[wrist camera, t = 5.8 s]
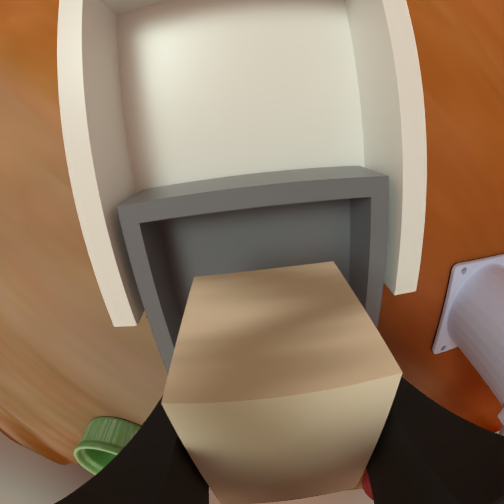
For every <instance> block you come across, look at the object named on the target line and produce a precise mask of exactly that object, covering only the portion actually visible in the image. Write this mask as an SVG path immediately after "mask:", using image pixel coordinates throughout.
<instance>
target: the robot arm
mask: <svg viewBox="0 0 504 504" xmlns="http://www.w3.org/2000/svg"><path fill="white" fill-rule="evenodd" d="M462 269H463V270H462ZM456 347H458V348H459V349H460V350H461V351H462V353H463V354H464V355H465V356H466V358H467V359H468V360H469V361H470V363H471V364H472V365H473V367H474V368H475V369H476V371H477V372H478V373H479V375H480V376H481V377H482V379H483V380H484V381H485V383H486V384H487V385H488V387H489V388H490V389H491V391H492V392H493V394H494V395H495V396H496V398H497V399H498V401H499V402H500V404H501V405H502V406H503V409H502V411H501V412H500V413H499V414H498V418H499V420H500V421H501V423H502V424H503V425H502V427H501V429H500V432H499V434H497V433H494V432H491V431H489V430H486V429H484V428H481V427H479V426H477V425H475V424H473V423H471V422H469V421H467V420H465V419H463V418H461V417H459V416H457V415H455V414H453V413H452V412H450V411H448V410H447V409H445V408H444V407H442V406H440V405H439V404H437V403H436V402H434V401H433V400H431V399H430V398H428V397H427V396H426V395H424V394H423V393H422V392H420V391H419V390H418V389H416V388H415V387H414V386H413V385H411V384H410V383H409V382H408V381H407V380H405V379H404V378H403V377H402V376H401V379H400V382H399V385H398V388H397V391H396V394H395V397H394V400H393V403H392V406H391V408H390V411H389V414H388V416H387V419H386V422H385V424H384V427H383V429H382V432H381V434H380V437H379V439H378V441H377V444H376V446H375V448H374V451H373V453H372V455H371V457H370V459H369V462H368V464H367V466H366V469H367V472H368V476H369V481H370V485H371V490H372V494H373V499H374V504H504V254H501V255H496V256H491V257H487V258H482V259H477V260H472V261H467V262H462V263H457V264H455V265H454V266H453V268H452V270H451V275H450V281H449V285H448V290H447V295H446V299H445V303H444V308H443V312H442V316H441V319H440V323H439V327H438V330H437V334H436V337H435V341H434V344H433V347H432V351H433V353H434V354H438V353H441V352H444V351H447V350H450V349H453V348H456ZM162 398H163V396H162ZM162 398H161V399H160V401H159V402H158V404H157V405H156V407H155V408H154V410H153V411H152V413H151V414H150V415H149V417H148V418H147V419H146V421H145V422H144V423H143V425H142V426H141V427H140V429H139V430H138V431H137V433H136V434H135V435H134V436H133V438H132V439H131V440H130V441H129V442H128V443H127V445H126V446H125V447H124V448H123V449H122V450H121V451H120V452H119V453H118V454H117V455H116V456H115V457H114V458H113V459H112V460H111V461H110V462H109V463H108V464H107V465H106V466H105V467H104V468H103V469H102V470H101V471H100V472H98V473H97V474H96V475H95V476H94V477H93V478H91V479H90V480H89V481H87V482H86V483H85V484H83V485H82V486H81V487H79V488H78V489H77V490H75V491H74V492H73V493H71V494H70V495H68V496H67V497H65V498H63V499H62V500H60V501H58V502H57V503H55V504H209V492H208V491H209V485H208V484H207V482H206V481H205V479H204V478H203V476H202V475H201V473H200V471H199V470H198V468H197V467H196V465H195V463H194V462H193V460H192V458H191V457H190V455H189V453H188V452H187V450H186V448H185V447H184V445H183V443H182V441H181V440H180V438H179V436H178V434H177V432H176V431H175V429H174V427H173V425H172V423H171V421H170V419H169V417H168V416H167V414H166V412H165V410H164V408H163V406H162V404H161V403H162Z"/></svg>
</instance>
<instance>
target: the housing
mask: <svg viewBox="0 0 504 504" xmlns="http://www.w3.org/2000/svg"><path fill="white" fill-rule="evenodd" d="M57 67H58V90H59V103H60V114H61V123H62V132H63V139H64V146H65V153H66V159H67V165H68V170H69V176H70V181H71V186H72V191H73V195H74V200H75V204H76V209H77V213H78V217H79V221H80V225H81V229H82V232H83V236H84V240H85V243H86V247H87V250H88V253H89V257H90V260H91V263H92V266H93V270H94V273H95V276H96V279H97V282H98V285H99V288H100V290H101V293H102V296H103V299H104V301H105V304H106V307H107V310H108V312H109V315H110V317H111V320H112V322H113V325H114V327H119V326H137V325H138V323H139V320H140V318H141V316H142V314H143V312H144V310H145V309H144V306H143V303H142V300H141V296H140V293H139V290H138V287H137V283H136V280H135V277H134V273H133V270H132V266H131V263H130V259H129V255H128V251H127V248H126V244H125V240H124V236H123V232H122V228H121V224H120V219H119V215H118V210H117V206H118V205H120V204H121V203H123V202H124V201H126V200H127V199H129V198H130V197H132V196H133V195H135V194H136V193H138V192H139V191H141V190H144V189H149V188H155V187H161V186H167V185H173V184H179V183H185V182H192V181H199V180H206V179H213V178H220V177H228V176H236V175H244V174H253V173H263V172H272V171H283V170H294V169H307V168H321V167H337V166H361V167H364V168H367V169H370V170H373V171H376V172H379V173H382V174H385V175H387V176H389V205H388V233H387V249H386V262H385V274H384V283H385V285H386V286H387V287H388V288H389V289H390V291H391V292H392V293H393V294H394V295H399V294H404V293H409V292H414V291H416V288H417V282H418V275H419V268H420V261H421V253H422V244H423V234H424V222H425V207H426V183H427V148H426V124H425V110H424V98H423V89H422V80H421V73H420V66H419V59H418V53H417V48H416V42H415V37H414V32H413V27H412V23H411V19H410V14H409V10H408V6H407V3H406V0H60V1H59V14H58V35H57Z"/></svg>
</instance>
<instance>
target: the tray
mask: <svg viewBox="0 0 504 504" xmlns="http://www.w3.org/2000/svg"><path fill="white" fill-rule="evenodd" d="M388 205H389V176H387V175H385V174H382V173H379V172H376V171H373V170H370V169H367V168H364V167H361V166H337V167H321V168H307V169H294V170H283V171H272V172H263V173H253V174H244V175H236V176H228V177H220V178H213V179H206V180H199V181H192V182H185V183H179V184H173V185H167V186H161V187H155V188H149V189H144V190H141V191H139V192H138V193H136V194H135V195H133V196H132V197H130V198H129V199H127V200H126V201H124V202H123V203H121V204H120V205H118V206H117V210H118V215H119V219H120V224H121V228H122V232H123V236H124V240H125V244H126V248H127V251H128V255H129V259H130V263H131V266H132V270H133V273H134V277H135V280H136V283H137V287H138V290H139V293H140V296H141V300H142V303H143V306H144V309H145V312H146V315H147V318H148V321H149V324H150V327H151V330H152V332H153V335H154V338H155V341H156V343H157V346H158V349H159V351H160V354H161V357H162V359H163V362H164V364H165V367H166V370H167V372H168V373H169V369H170V365H171V361H172V357H173V353H174V349H175V345H176V341H177V337H178V333H179V330H180V326H181V322H182V318H183V315H184V311H185V307H186V304H187V300H188V297H189V293H190V290H191V286H192V282H193V279H194V277H199V276H208V275H218V274H227V273H236V272H245V271H254V270H263V269H272V268H281V267H289V266H297V265H306V264H314V263H322V262H330V261H334V263H335V264H336V266H337V267H338V269H339V270H340V272H341V273H342V275H343V276H344V278H345V280H346V281H347V283H348V284H349V286H350V287H351V289H352V290H353V292H354V293H355V295H356V297H357V298H358V300H359V301H360V303H361V304H362V306H363V308H364V309H365V311H366V312H367V314H368V316H369V317H370V319H371V320H372V322H373V324H374V325H375V327H376V328H377V329H378V323H379V316H380V309H381V301H382V292H383V283H384V274H385V262H386V249H387V233H388Z"/></svg>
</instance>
